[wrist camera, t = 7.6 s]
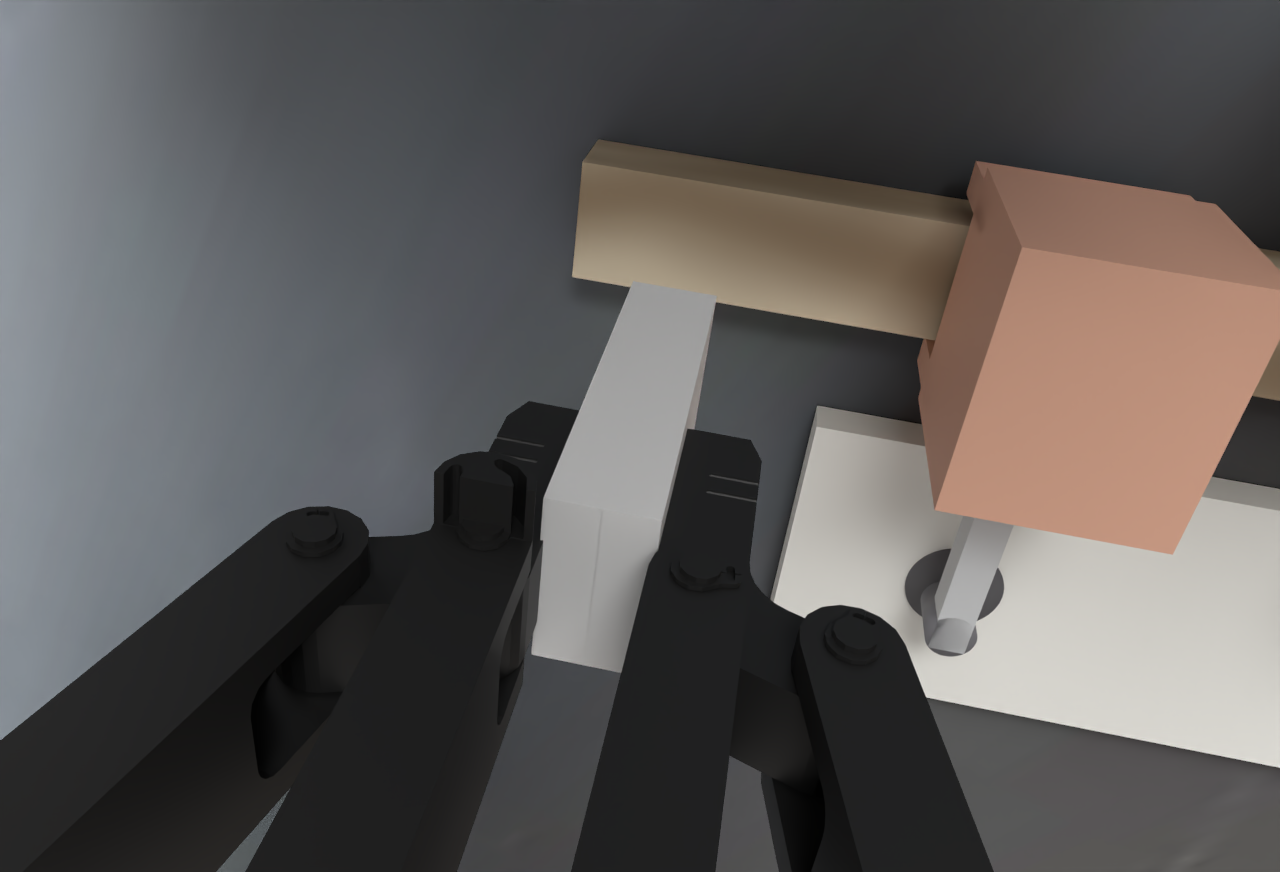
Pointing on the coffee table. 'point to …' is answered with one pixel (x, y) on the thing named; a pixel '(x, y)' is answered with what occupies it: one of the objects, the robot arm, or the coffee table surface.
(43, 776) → the robot arm
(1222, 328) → the sliding leg
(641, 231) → the rail
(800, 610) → the hole plate
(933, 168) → the coffee table surface
